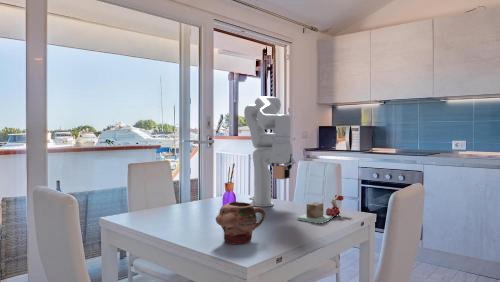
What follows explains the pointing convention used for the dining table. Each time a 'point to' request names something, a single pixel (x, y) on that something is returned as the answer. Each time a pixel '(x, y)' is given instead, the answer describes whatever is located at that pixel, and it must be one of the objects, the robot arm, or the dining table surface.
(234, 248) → the dining table surface
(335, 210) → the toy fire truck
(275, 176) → the terracotta brick
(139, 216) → the dining table surface
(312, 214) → the walnut brick
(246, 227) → the brown sculpted mug
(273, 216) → the dining table surface
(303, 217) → the board
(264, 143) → the robot arm
